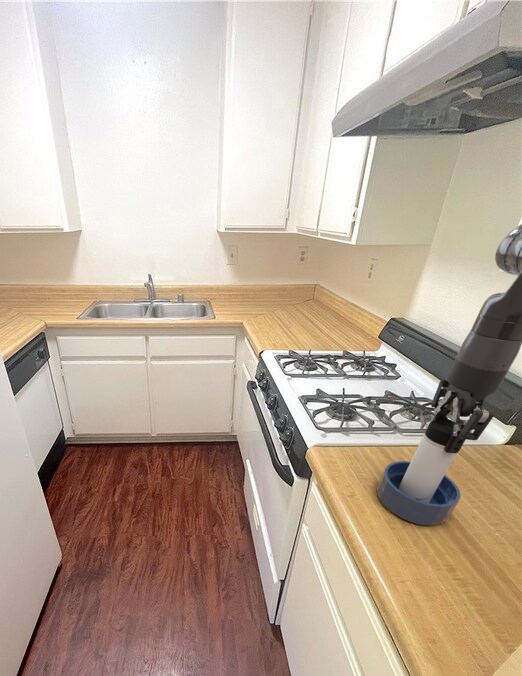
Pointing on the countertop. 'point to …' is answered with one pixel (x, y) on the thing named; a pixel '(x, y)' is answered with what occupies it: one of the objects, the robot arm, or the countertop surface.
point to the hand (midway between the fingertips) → (441, 441)
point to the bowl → (411, 507)
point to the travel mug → (429, 462)
